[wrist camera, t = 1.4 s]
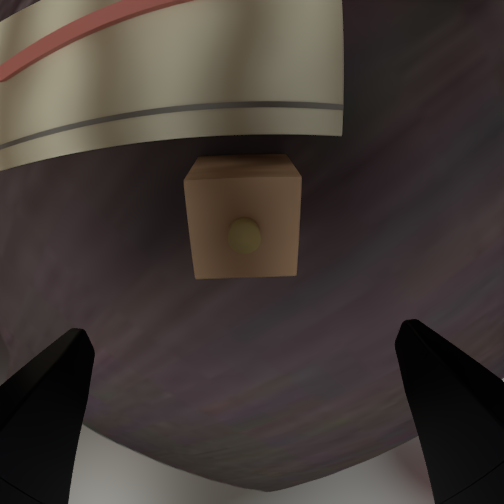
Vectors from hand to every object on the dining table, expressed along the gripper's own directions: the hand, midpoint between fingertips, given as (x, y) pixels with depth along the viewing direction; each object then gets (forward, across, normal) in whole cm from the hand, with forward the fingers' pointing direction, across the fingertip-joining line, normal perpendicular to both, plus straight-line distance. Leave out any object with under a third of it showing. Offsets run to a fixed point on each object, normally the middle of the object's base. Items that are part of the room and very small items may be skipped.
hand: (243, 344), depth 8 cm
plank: (+12, +6, -9) cm, 16 cm away
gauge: (+12, 0, 0) cm, 12 cm away
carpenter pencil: (+9, +7, -11) cm, 16 cm away
